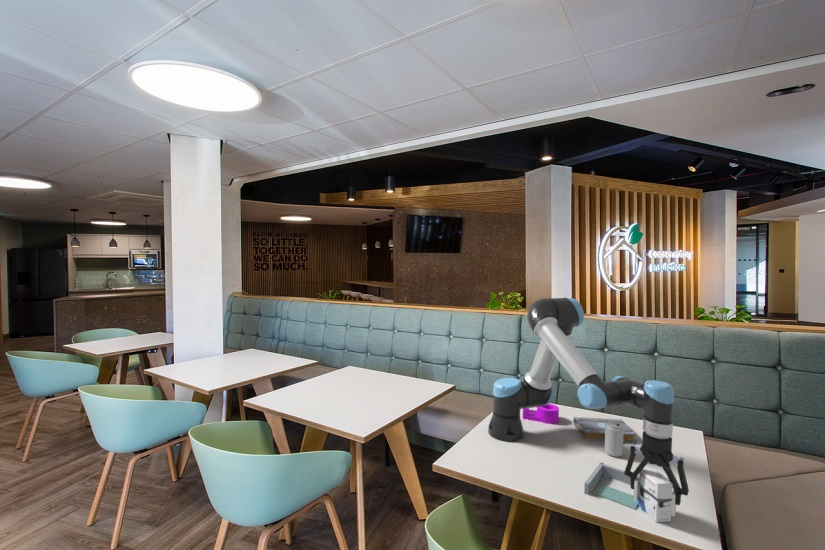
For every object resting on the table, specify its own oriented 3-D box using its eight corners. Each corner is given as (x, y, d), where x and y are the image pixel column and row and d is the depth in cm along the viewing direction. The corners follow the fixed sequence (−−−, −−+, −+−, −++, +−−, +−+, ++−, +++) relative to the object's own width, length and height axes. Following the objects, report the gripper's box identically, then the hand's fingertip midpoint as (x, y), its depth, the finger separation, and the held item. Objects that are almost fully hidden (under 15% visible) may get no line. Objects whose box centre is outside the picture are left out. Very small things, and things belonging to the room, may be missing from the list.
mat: (597, 494, 127) (597, 493, 127) (603, 485, 132) (603, 484, 132) (635, 509, 120) (635, 508, 120) (640, 499, 125) (640, 498, 125)
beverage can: (624, 458, 150) (626, 428, 150) (607, 456, 152) (608, 426, 151) (619, 450, 157) (620, 421, 156) (602, 449, 158) (603, 420, 157)
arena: (584, 493, 128) (584, 482, 128) (599, 472, 141) (600, 462, 140) (639, 514, 117) (640, 503, 117) (650, 490, 130) (651, 479, 130)
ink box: (637, 504, 122) (638, 467, 122) (652, 503, 123) (653, 467, 122) (655, 522, 114) (657, 483, 113) (672, 522, 114) (673, 483, 114)
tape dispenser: (558, 417, 189) (559, 405, 189) (558, 425, 180) (558, 412, 180) (524, 412, 195) (525, 400, 195) (522, 419, 186) (522, 407, 186)
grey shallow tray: (620, 427, 180) (620, 416, 179) (637, 444, 163) (637, 432, 163) (573, 425, 182) (573, 414, 181) (585, 441, 165) (585, 430, 165)
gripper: (614, 427, 122) (611, 497, 123) (700, 450, 107) (697, 529, 108) (620, 419, 127) (618, 486, 128) (703, 441, 113) (700, 516, 114)
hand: (654, 506), depth 118 cm, fingers closed on ink box, 9 cm apart
